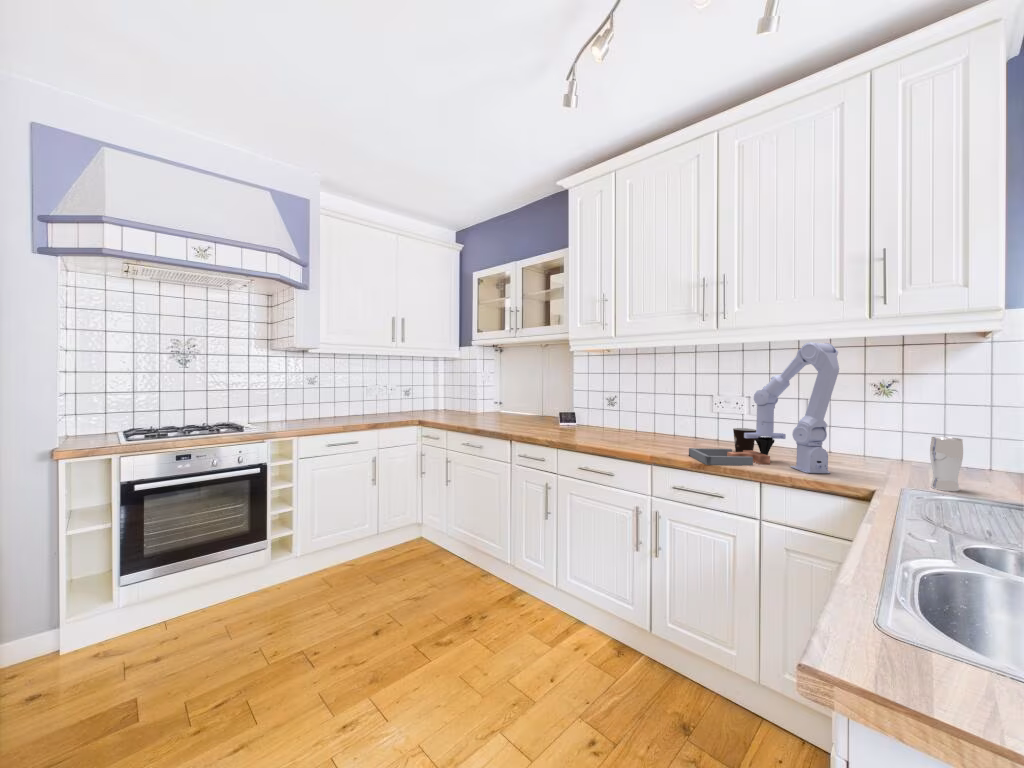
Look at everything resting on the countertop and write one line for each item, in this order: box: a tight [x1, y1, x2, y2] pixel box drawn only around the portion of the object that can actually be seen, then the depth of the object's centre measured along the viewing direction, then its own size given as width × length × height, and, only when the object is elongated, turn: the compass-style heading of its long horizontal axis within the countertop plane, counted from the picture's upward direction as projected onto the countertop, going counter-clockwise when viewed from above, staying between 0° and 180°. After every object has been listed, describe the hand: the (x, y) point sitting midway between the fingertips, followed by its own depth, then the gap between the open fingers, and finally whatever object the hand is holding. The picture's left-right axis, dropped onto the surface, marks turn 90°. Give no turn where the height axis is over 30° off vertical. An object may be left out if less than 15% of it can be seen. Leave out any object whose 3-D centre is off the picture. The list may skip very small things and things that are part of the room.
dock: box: [688, 447, 754, 466], centre depth 170 cm, size 18×16×3 cm
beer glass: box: [929, 436, 964, 493], centre depth 131 cm, size 7×7×15 cm
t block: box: [727, 449, 771, 465], centre depth 170 cm, size 12×12×3 cm
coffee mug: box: [732, 427, 756, 452], centre depth 188 cm, size 12×9×10 cm
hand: (764, 457), depth 170 cm, fingers closed
